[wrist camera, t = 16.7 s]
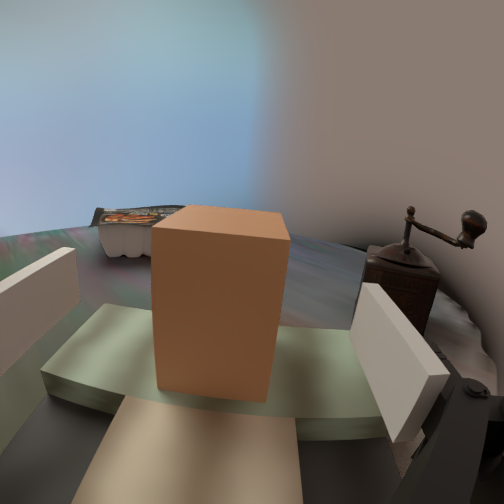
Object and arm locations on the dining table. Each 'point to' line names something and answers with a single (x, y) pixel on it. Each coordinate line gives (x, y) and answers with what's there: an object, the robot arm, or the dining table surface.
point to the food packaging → (129, 228)
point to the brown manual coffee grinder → (414, 268)
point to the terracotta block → (217, 300)
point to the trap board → (198, 428)
